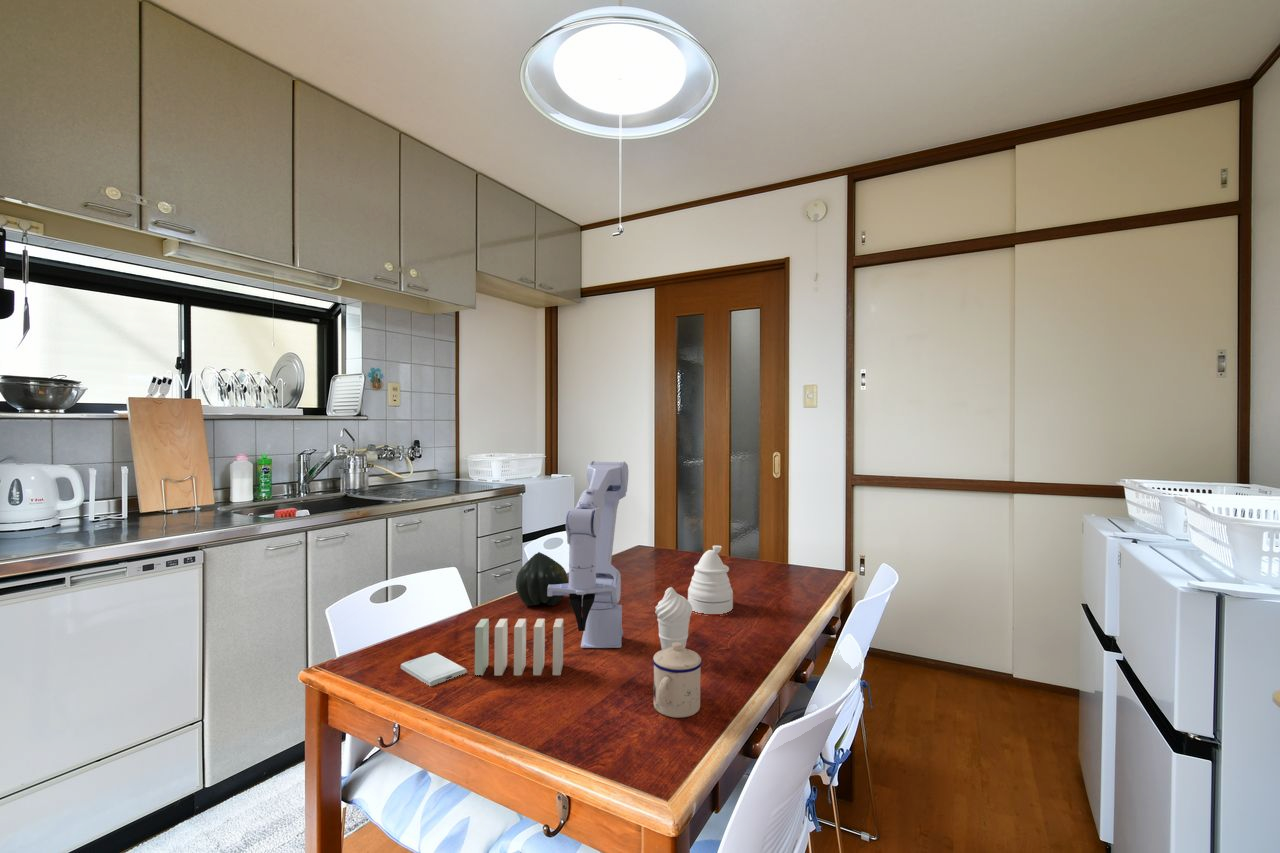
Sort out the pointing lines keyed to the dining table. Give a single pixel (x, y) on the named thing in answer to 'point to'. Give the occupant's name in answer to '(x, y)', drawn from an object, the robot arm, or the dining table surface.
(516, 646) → the domino
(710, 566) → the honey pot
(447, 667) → the hard drive
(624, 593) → the dining table surface
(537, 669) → the domino
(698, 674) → the teacup with lid
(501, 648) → the domino
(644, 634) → the dining table surface
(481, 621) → the domino
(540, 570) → the squash
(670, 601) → the soft serve ice cream cone
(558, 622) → the domino
